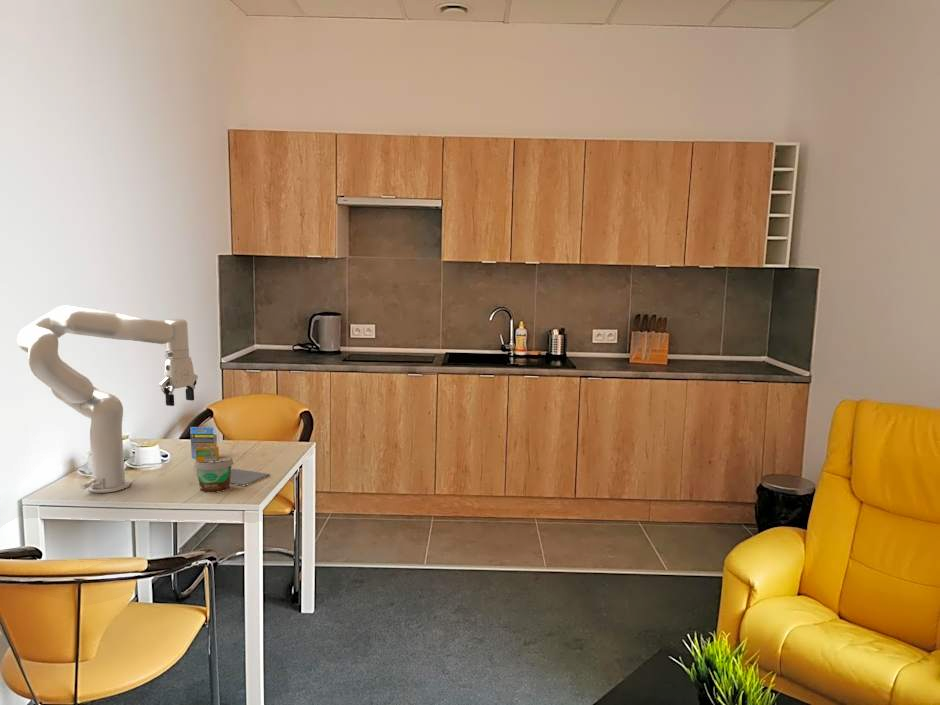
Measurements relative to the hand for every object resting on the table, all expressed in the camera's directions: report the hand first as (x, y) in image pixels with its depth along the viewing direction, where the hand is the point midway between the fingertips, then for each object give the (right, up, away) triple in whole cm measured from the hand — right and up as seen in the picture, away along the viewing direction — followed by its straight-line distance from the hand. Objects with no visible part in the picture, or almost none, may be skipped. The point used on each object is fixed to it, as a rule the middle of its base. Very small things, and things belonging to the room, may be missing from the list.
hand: (180, 402), depth 263 cm
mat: (+22, -26, -5) cm, 34 cm away
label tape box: (+2, -22, +20) cm, 30 cm away
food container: (+18, -28, -18) cm, 38 cm away
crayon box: (+10, -25, -1) cm, 27 cm away
